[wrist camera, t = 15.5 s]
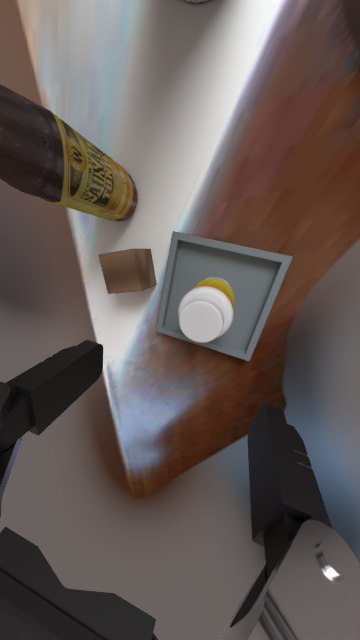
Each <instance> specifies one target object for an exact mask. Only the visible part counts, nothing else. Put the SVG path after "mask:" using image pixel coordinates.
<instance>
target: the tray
mask: <svg viewBox="0 0 360 640" xmlns="http://www.w3.org/2000/svg"><path fill="white" fill-rule="evenodd" d="M291 260H292V257H291V256H287V255H282V254H277V253H273V252H268V251H263V250H259V249H254V248H249V247H245V246H240V245H235V244H231V243H226V242H221V241H216V240H212V239H207V238H202V237H198V236H193V235H188V234H184V233H179V232H174V231H173V233H172V239H171V245H170V251H169V257H168V263H167V269H166V275H165V281H164V287H163V293H162V299H161V305H160V311H159V317H158V323H157V328H156V331H157V332H160V333H163V334H166V335H169V336H172V337H175V338H178V339H182V340H185V341H188V342H191V343H194V344H197V345H200V346H203V347H206V348H210V349H213V350H216V351H219V352H222V353H225V354H228V355H231V356H234V357H238V358H241V359H244V360H247V361H250V358H251V356H252V353H253V351H254V349H255V346H256V344H257V341H258V339H259V337H260V334H261V332H262V329H263V327H264V325H265V322H266V320H267V317H268V315H269V313H270V310H271V308H272V305H273V303H274V301H275V298H276V296H277V293H278V291H279V289H280V286H281V284H282V281H283V279H284V277H285V274H286V272H287V269H288V267H289V265H290V262H291ZM209 277H218V278H221V279H224V280H225V281H227V282H228V283H229V284H230V285H231V287H232V289H233V291H234V296H235V300H234V313H233V320H232V323H231V326H230V327H229V329H228V330H227V331H226V332H225V333H224V334H223V335H222V336H220V337H218V338H215V339H214V340H212V341H209V342H205V343H199V342H195V341H192V340H191V339H189V338H188V337H186V336H185V335H184V333H183V332H182V330H181V328H180V324H179V316H178V308H179V304H180V302H181V300H182V298H183V297H184V296H185V295H186V293H188V292H189V291H190V290H191V289H192V288H194V287H195V286H196V285H197V284H198V283H199V282H201V281H202V280H204V279H206V278H209Z"/></svg>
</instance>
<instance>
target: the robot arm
mask: <svg viewBox="0 0 360 640" xmlns="http://www.w3.org/2000/svg"><path fill="white" fill-rule="evenodd" d="M185 1H187V2H194V3H199V2H204V1H208V0H185ZM102 369H103V346H102V345H101V344H99V343H96V342H93V341H90V340H86V341H84V342H82V343H81V344H79V345H77V346H73V347H70V348H66V349H63V350H61V351H59V352H58V353H56V354H54V355H53V356H52V357H49V358H47V359H46V360H44V362H41V363H39V364H37V365H36V366H34V367H32V368H31V369H29V370H27V371H25V372H24V373H22V374H20V375H19V376H17V377H15V378H13V379H12V380H10V381H8V382H7V383H4V382H0V516H1V502H2V497H3V494H4V491H5V488H6V485H7V482H8V479H9V476H10V473H11V470H12V468H13V465H14V462H15V459H16V456H17V453H18V450H19V447H20V444H21V441H22V436H23V435H24V434H25V433H26V432H27V431H30V432H32V433H34V434H36V435H40V434H41V433H42V432H43V431H44V430H45V429H46V428H47V427H48V426H49V425H50V424H51V423H52V422H53V421H54V420H55V419H56V418H57V417H59V416H60V415H61V414H62V413H63V412H64V411H65V410H66V409H67V408H68V407H69V406H70V405H71V404H72V403H73V402H74V401H75V400H77V399H78V398H79V396H81V395H82V394H83V393H84V392H85V391H86V390H87V389H88V388H89V387H90V386H91V385H92V384H93V383H94V382H96V381H97V379H98V378H99V377H100V375H101V373H102ZM248 459H249V480H250V500H251V522H252V541H254V542H256V543H258V544H260V545H262V546H264V548H265V560H266V561H265V563H264V564H263V565H262V567H261V569H260V571H259V572H258V574H257V575H256V577H255V579H254V581H253V582H252V584H251V586H250V587H249V589H248V591H247V592H246V594H245V596H244V597H243V599H242V601H241V602H240V604H239V606H238V607H237V609H236V611H235V612H234V614H233V616H232V618H231V619H230V621H229V622H228V624H227V626H226V627H225V629H224V630H223V632H222V633H221V635H220V636H219V637H218V638H217V640H360V564H359V563H358V561H357V559H356V557H355V555H354V554H353V552H352V551H351V549H350V548H349V547H348V545H347V544H346V543H345V542H344V540H343V539H342V538H341V537H340V536H339V535H338V534H337V533H336V532H335V531H334V530H333V528H332V526H331V523H330V520H329V517H328V514H327V511H326V508H325V505H324V502H323V499H322V496H321V493H320V490H319V488H318V484H317V481H316V478H315V476H314V472H313V470H312V469H311V463H310V460H309V458H308V457H307V451H306V448H305V445H304V442H303V440H302V438H301V437H300V435H299V434H298V432H297V431H296V429H295V428H294V427H293V426H291V425H289V424H287V422H286V419H285V415H284V411H283V409H281V408H279V407H276V406H273V405H270V404H267V403H265V402H263V403H262V404H261V405H260V407H259V409H258V411H257V413H256V415H255V417H254V419H253V421H252V423H251V425H250V428H249V432H248ZM155 621H156V619H154V618H153V617H152V616H150V615H148V614H147V613H145V612H143V611H142V610H140V609H139V608H137V607H135V606H134V605H132V604H130V603H129V602H127V601H126V600H124V599H122V598H121V597H119V596H117V595H116V594H113V593H104V592H94V591H84V590H74V589H67V588H65V587H64V586H63V585H62V584H61V583H60V581H59V579H58V578H57V576H56V574H55V573H54V571H53V570H52V568H51V566H50V565H49V563H48V562H47V560H46V559H45V557H44V555H43V554H42V553H41V551H40V549H39V548H38V546H36V545H34V544H33V543H31V542H30V541H28V540H26V539H25V538H23V537H21V536H20V535H18V534H17V533H15V532H13V531H12V530H10V529H8V528H7V527H5V528H4V529H3V530H2V531H1V533H0V640H158V639H157V637H156V636H155V635H154V633H153V630H154V626H155Z"/></svg>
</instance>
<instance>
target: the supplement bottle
mask: <svg viewBox="0 0 360 640" xmlns="http://www.w3.org/2000/svg"><path fill="white" fill-rule="evenodd" d="M234 300H235V296H234V291H233V289H232V287H231V285H230V284H229V283H228V282H227V281H225V280H224V279H221V278H218V277H209V278H206V279H204V280H202V281H201V282H199V283H198V284H197V285H196V286H195V287H194V288H192V289H191V290H190V291H189V292H188V293H186V295H185V296H184V297H183V298H182V300H181V302H180V304H179V308H178V316H179V324H180V328H181V330H182V332H183V333H184V335H185V336H186V337H188V338H189V339H191V340H192V341H195V342H199V343H205V342H209V341H212V340H214V339H215V338H218V337H220V336H222V335H223V334H224V333H225V332H226V331H227V330H228V329H229V327H230V326H231V323H232V320H233V313H234Z"/></svg>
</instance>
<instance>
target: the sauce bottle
mask: <svg viewBox="0 0 360 640" xmlns="http://www.w3.org/2000/svg"><path fill="white" fill-rule="evenodd" d="M0 178H1V179H2V180H3V181H5V182H6V183H8V184H9V185H10V186H12V187H14V188H16V189H18V190H20V191H21V192H24V193H27V194H30V195H33V196H37V197H41V198H42V199H44V200H46V201H49V202H52V203H55V204H58V205H62V206H65V207H68V208H71V209H75V210H78V211H81V212H84V213H88V214H91V215H95V216H98V217H101V218H104V219H108V220H116V221H122V220H125V219H127V218H128V217H129V216H130V215H131V214H132V213H133V211H134V209H135V206H136V202H137V191H136V187H135V185H134V182H133V180H132V178H131V176H130V175H129V174H128V173H127V172H126V171H125V170H124V169H123V168H122V167H121V166H120V165H119V164H117V163H116V162H115V161H113V160H112V159H111V158H110V157H108V156H107V155H106V154H104V153H103V152H102V151H101V150H99V149H98V148H97V147H95V146H94V145H93V144H91V143H90V142H89V141H88V140H86V139H85V138H84V137H82V136H81V135H80V134H79V133H77V132H76V131H75V130H74V129H72V128H71V127H70V126H69V125H67V124H66V123H65V122H64V121H63V120H61V119H60V118H58V117H57V116H56V115H55V114H53V113H52V112H51V111H49V110H47V109H46V108H44V107H42V106H40V105H38V104H36V103H34V102H33V101H31V100H29V99H27V98H25V97H23V96H21V95H19V94H18V93H15V92H14V91H12V90H10V89H8V88H6V87H4V86H2V85H0Z"/></svg>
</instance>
